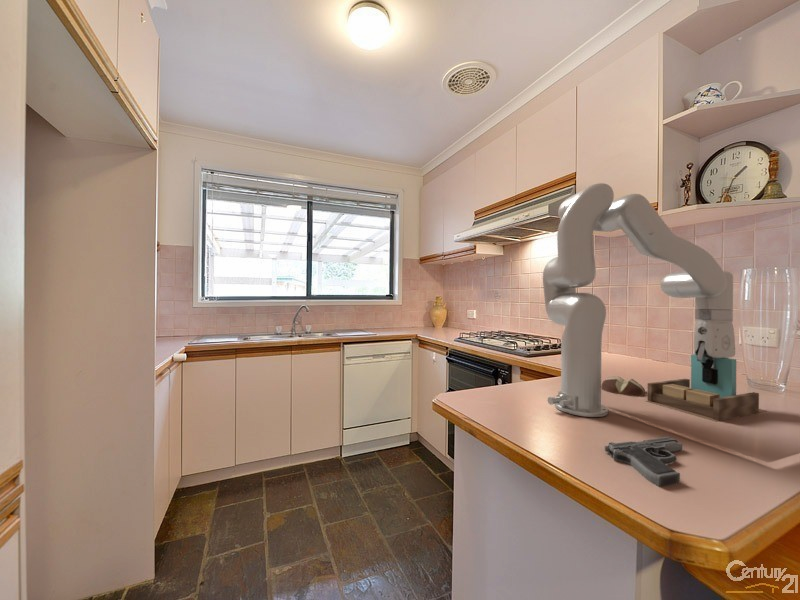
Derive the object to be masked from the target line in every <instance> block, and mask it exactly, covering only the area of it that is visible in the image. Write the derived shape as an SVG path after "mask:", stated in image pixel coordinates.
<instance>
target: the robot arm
mask: <svg viewBox="0 0 800 600" xmlns="http://www.w3.org/2000/svg"><path fill="white" fill-rule="evenodd" d="M557 211H558V212H557V214H558V218H559V220H560V222H559V224H558V227H557V235H556V237H557V238H556V239H557V241H556V243H557V256H556V257H553V258H552V259H551V260H549V261H548V262H547V263H546V265H545V266H544V269H543V272H542V285H543V287H542V288H543V297H544V305H545V306H544V307H545V311H546V314H547V316H548V318H549V320H551V322H553V323H555V324H556V325H561V326H565V327H564V329H563V331H562V332H563V333H562V337H561V343H560V351H561V352H560V353H561V355H560V356H561V357H560V390H559V391H558V392H557V395H556V396H549V397H547V403H548V404H549V405H551V406H552V405H554V406H555V408H556V409H557V410H560V411H561V412H563V413H567V414H570V415H573V416H574V415H575V416H580V417H584V418H586V417H588V418H598V417H599V418H601V417H605V416H606V417H607V415H608V414H609V409H608V408H607V407H606V405H604V404H602V343H603V342H602V341H603V340H602V339H603V333H604V332H603V331H604V325H605V322H606V318H607V308H606V305H605V302H604V301H603V300H602V299H601V298H600V297H599V296H597V295H595V294H593V293H589V292H577V291H576V290H577V289H579V288H583V287H588V286H589V285H591V284H592V283H593V282H594V281H595V279H596V275H597V274H596V272H597V271H596V270H597V269H596V260H595V258H596V257H595V249H594V231H595V232H602V233H603V232H604V233H607V232H608V233H609V232H615V231H618V230H621V231H622V232H623V233H624V235H625V236H626V237H627V238H628V240H629V241H630V242H631V243H632V245H633V247H635V249H636V250H637V251H638V252H639V253H640V254H641V255H643V256H646V257H650V258H653V259H656V260H657V259H658V260H662V261H665V262H667V263H668V262H669V263H671V264H674V265H676V266H677V267H679V268H680V269H683V270H678V271H673V272H671V273H668V274H666V275H665V276H663V278H662V279H661V282H660V288H661V291H662V292H663V293H664V294H665V295H667V296H669V297H672V298H675V299H676V298H677V299H679V298H680V299H684V298H685V299H687V298H691V299H692V298H694V306H695V307H694V312H695V313H694V322H695V325H694V326H695V327H694V337H693V352H694V353H693V354H695V355H696V356H697V361H699V362H701V367H702V381H703V382H706V383H711V384H718V370H716V359H722V358H729V359H732V358H734V357H735V355H736V340H735V339H736V338H735V331H734V330H735V329H734V324H733V321H734V274H733V273H732V272H731V271H726V270H725V271H724V270H723V268H722V267H721V265H720V264H719V263H718V261H717V260H716V259H715V258H714V256H713V255H712V254H710V252H708V251H707V250H706V249H704V248H703V247H700V246H699V245H697V244H695V243H693V242H691V241H689V240H687V239H686V238H684V237H681V236H678V235H676V234H675V233H674V232H672V230H671V229H670V227H669V225H667V223H665V220H663V218H662V217H661V216H660V215H659V213H658V212H657V210H656V209H655V208H654V206H653V205H652V204H651V203H650V201H649V200H648V199H647V197H646V196H644V195H642V194H640V193H631V194H627V195H624V196H621V197H619V198H616V199H615V193H614V190H613V188H612V186H610V185H609V184H607V183H605V182H604V183H602V182H600V183H599V182H598V183H595V184H591V185H589V186H588V187H585V188H583V189H582V190H580V191H578V192H577V193H575V194H572V195H571V196H570V197H567V198H566V199H565V200H564V201H563V202H561V204H560V205H559V207H558V210H557ZM706 356H712V357H706ZM710 360H711V361H710Z"/></svg>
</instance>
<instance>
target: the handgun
mask: <svg viewBox="0 0 800 600" xmlns="http://www.w3.org/2000/svg"><path fill="white" fill-rule="evenodd" d="M683 448H684V447H683V443H681V441H678V440H677V439H675V438H672V437H671V436H662V437H660V438H659V437H658V438H652V439H651V438H650V439H644V440H642V441H641V440H640V441H624V442H608V444H607V445H604V451H605V452H606V453H608V454H609V456H610V457H611V458H612V459H613V461H614V462H622V463H625V464H628V465H629V466H631V467H632V468H633V469H634V470H636V471H637V472H638V473H639V474H640V475H641V476H642V477H643V478H645V480H647V481H648V482H650V483H652V484H654V485H655V486H656V487H659V488H660V487H665V486H669V485H677V484H680V483H681V479H680V478H681V473H680V472H678V471H676V470H675V469H673V468H672V467H670V466H669V465H668V464H673V463H674V462H676V461H677V456H676V455H675V454H674V452H678V451H682V450H683ZM676 483H677V484H676Z"/></svg>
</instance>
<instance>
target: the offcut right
mask: <svg viewBox="0 0 800 600" xmlns="http://www.w3.org/2000/svg"><path fill="white" fill-rule="evenodd" d="M715 398H720V394H715V393H711V392H706V391H702V390H697V389H693V390H686V400H687V401H690V402H694V403H698V404H702V405H706V406H710V407H713V399H715Z"/></svg>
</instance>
